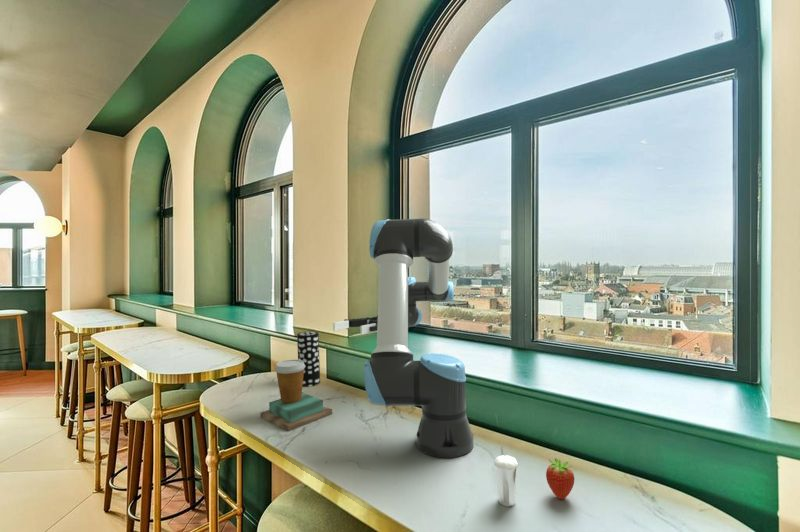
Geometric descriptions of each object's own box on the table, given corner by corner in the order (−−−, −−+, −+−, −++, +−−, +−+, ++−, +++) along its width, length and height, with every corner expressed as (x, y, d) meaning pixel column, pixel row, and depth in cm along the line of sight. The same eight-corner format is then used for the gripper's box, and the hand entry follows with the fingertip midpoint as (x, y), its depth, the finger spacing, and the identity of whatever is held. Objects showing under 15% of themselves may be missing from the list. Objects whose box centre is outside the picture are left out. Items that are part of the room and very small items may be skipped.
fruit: (548, 503, 81) (548, 464, 81) (544, 489, 86) (543, 452, 86) (577, 506, 80) (576, 466, 80) (571, 491, 85) (570, 453, 85)
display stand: (332, 414, 130) (331, 399, 130) (288, 431, 118) (288, 415, 118) (303, 402, 141) (302, 389, 141) (260, 417, 129) (260, 402, 129)
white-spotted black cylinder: (298, 381, 165) (296, 332, 164) (319, 379, 167) (317, 330, 167) (299, 387, 157) (297, 336, 156) (321, 385, 159) (319, 334, 159)
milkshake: (513, 492, 86) (512, 445, 85) (521, 508, 80) (520, 458, 80) (491, 493, 85) (490, 446, 85) (498, 509, 80) (497, 459, 80)
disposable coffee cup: (311, 399, 130) (310, 362, 130) (283, 407, 124) (282, 369, 124) (298, 392, 137) (296, 357, 137) (270, 399, 131) (269, 363, 131)
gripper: (416, 333, 143) (374, 343, 127) (366, 327, 159) (323, 335, 143) (415, 312, 143) (373, 319, 127) (366, 308, 159) (323, 314, 143)
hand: (346, 328), depth 135 cm, fingers open, 13 cm apart
